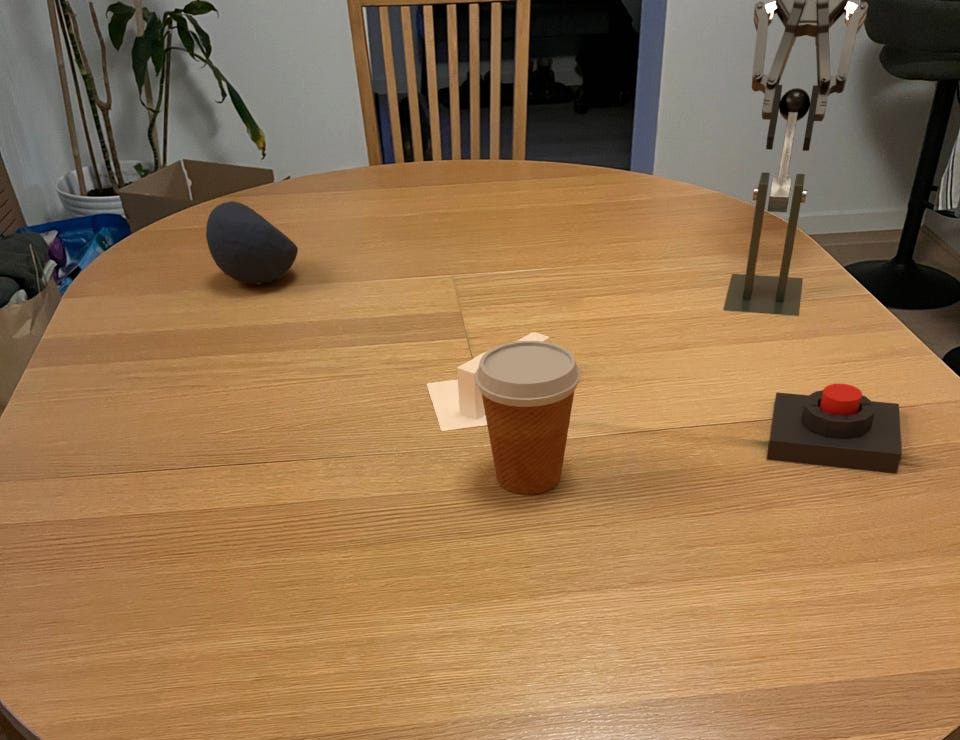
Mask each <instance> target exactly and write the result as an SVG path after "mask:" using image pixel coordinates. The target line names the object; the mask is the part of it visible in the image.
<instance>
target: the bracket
mask: <svg viewBox="0 0 960 740" xmlns="http://www.w3.org/2000/svg"><path fill="white" fill-rule="evenodd" d="M770 176H771V172H761V173H760V178H759V181H758V185H757V186H756V187H755V186H754V187H753V193H752V201H755V206H754V207H755V208H754V214H753V222H752V228H751V234H750V243H749V249H748V250H749V251H748V256H747V263H746V270H745V274H743V273H731V276H730V281H729V285H728V289H727V293H726V296H725V301H724V305H723V309H722V311H724V312H739V313H751V314H765V315H777V316H778V315H779V316H791V317H799V316H800V311H801V310H800V308H801V299H802V289H803V281H804V278H803V277H793V276H791V277H790V276H789V273H790V268H791V261H792V256H793V251H794V243H795V240H796V239H795V238H796V232H797V226H798V220H799V216H800V209H801V204H805V203H806V200H807V193H808V189H804V186H805V178H806V174H805V173H796V174H795V180H794V186H793V191H792V197H791V204H790V210H789V214H788V215H789V216H788V222H787V227H786V234H785V239H784V246H783V252H782V257H781V263H780V269H779V270H780V271H779V274H778V275H779V276H775V275H760V274H756V270H757V262H758V256H759V250H760V244H761V236H762V230H763V224H764V223H763V222H764V216H765V209H766V203H767V196H768V189H769V184H770V183H769V182H770Z"/></svg>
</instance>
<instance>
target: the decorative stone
mask: <svg viewBox="0 0 960 740" xmlns="http://www.w3.org/2000/svg"><path fill="white" fill-rule="evenodd" d="M205 237H206V242H207V243H206V244H207V247H208V250H209V253H210V255H211V257H212V260H213V262H214V263H215V264H216V266H217V267H218V268H219V270H221V272H223V273H224V274H225V275H227V276H228V277H230V278H231V279H233V280H234V281H237V282H239V283H243V282H246V283H247V284H251V285H259V284H258V283H265V284H268V283H267V282H269V283H271V282H270V281H272V282H274V281H276V280H277V278H278V279H280V278H281V277H283V276H284V275H285V274H286V273H287V272H288V271H289V270H290V269H291V267H293V264H294V263H295V261H296V258H297V255H298V250H299V248H298V246H297V245H296V244H295V242H293V241H292V240H291V238H290V237H288V236H287V235H286V234H284V233H283V231H280V229H279V228H277V227H276V226H274V225H273V224H272V223H271V222H269V220H267V219H266V218H265V217H263V216H262V215H261V214H259V213H257V212H256V211H255V210H254V209H253V208H251V207H249V206H248V205H246V204H243V203H242V202H239V201H233V200H231V201H227V202H222V203H220V204H218V205H216V206H215V207H214V208H213V209H212V210H211V212H210V214H209V215H208V217H207V222H206V231H205ZM279 277H280V278H279ZM275 279H276V280H275ZM273 280H274V281H273Z"/></svg>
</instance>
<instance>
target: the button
mask: <svg viewBox="0 0 960 740" xmlns="http://www.w3.org/2000/svg"><path fill="white" fill-rule="evenodd" d="M862 395H863V391H862V390H861V389H860V388H858V387H856V386H854V385H851V384H849V383H848V384H847V383H832V384H829V385H826V386H825V387H824V388H823V394H822V399H821V403H820V409H821V410H823V411H824V412H827V413H830V414H833V415H841V416H847V415H853V414H857V412H858V410H859V406H860V402H861V398H862Z"/></svg>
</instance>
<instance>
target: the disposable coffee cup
mask: <svg viewBox="0 0 960 740" xmlns="http://www.w3.org/2000/svg"><path fill="white" fill-rule="evenodd" d="M516 341H517V342H516ZM516 341H511V342H506V343H503V344H499V345H497V346H494V347H492V348H490V349H489V350H487V351H485V352H486V353H485V354H484V355H483V356H482V358H481V360H480V363H479V368H478V369H477V371H476V373H475V381H476V384H477V386H478V387H479V390H480V391H481V393H482V398H483V404H484V410H485V415H486V421H487V425H486V426H487V432H488V437H489V443H490V448H491V453H492V459H493V465H494V471H495V479H496V482H497V483H498V485H499V486H500V487H502V488H503V489H505V490H507V491H510V492H511V493H515V494H521V495H532V494H533V495H534V494H540V493H544V492H547V491H549V490H551V489H553V488H555V487H556V486H557V485H558V484H559V483H560V481H561V479H562V471H563V467H564V466H563V464H564V459H565V454H566V448H567V447H566V445H567V439H568V433H569V428H570V421H571V415H572V410H573V409H572V408H573V402H574V396H575V391H576V389H577V387H578V384H579V383H580V380H581V370H580V367H579V366H578V365H577V360H576V357H575V355H574V353H573V352H571V350H569V349H568V348H566V347H565V346H563V345H562V346H561V345H559V344H556V343H553V342H550V343H549V342H543V341H518V340H516Z"/></svg>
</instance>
